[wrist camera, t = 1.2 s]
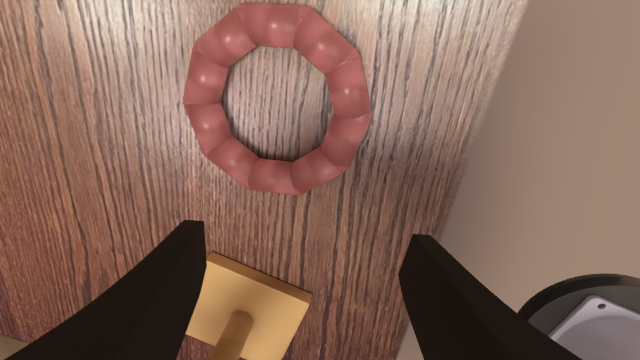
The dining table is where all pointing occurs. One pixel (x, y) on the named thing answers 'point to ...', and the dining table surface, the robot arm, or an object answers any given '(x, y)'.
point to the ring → (317, 47)
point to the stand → (246, 312)
